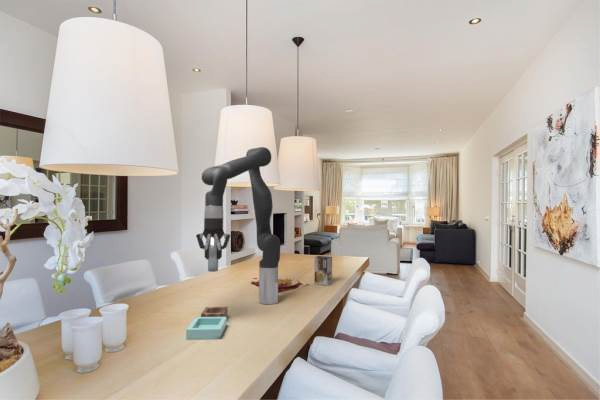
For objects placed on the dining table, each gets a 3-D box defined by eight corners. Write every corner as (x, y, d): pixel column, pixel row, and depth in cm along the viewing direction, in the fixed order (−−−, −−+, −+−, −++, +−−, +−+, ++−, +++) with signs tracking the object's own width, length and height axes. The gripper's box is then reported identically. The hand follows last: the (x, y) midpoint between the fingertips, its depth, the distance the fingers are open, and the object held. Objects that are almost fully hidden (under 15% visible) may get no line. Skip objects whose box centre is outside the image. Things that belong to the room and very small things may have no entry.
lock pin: (218, 269, 140) (219, 235, 140) (216, 271, 136) (217, 236, 136) (209, 269, 140) (209, 235, 140) (206, 271, 136) (207, 236, 136)
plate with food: (278, 294, 183) (279, 287, 183) (249, 284, 202) (250, 278, 202) (310, 287, 200) (310, 281, 200) (281, 278, 219) (281, 272, 219)
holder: (227, 316, 145) (227, 306, 145) (223, 323, 136) (223, 313, 136) (206, 316, 145) (206, 307, 145) (200, 324, 136) (201, 314, 136)
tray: (226, 325, 134) (226, 316, 134) (220, 339, 121) (220, 329, 121) (195, 326, 133) (195, 317, 133) (186, 339, 120) (186, 329, 120)
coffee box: (332, 283, 204) (332, 256, 204) (327, 285, 198) (327, 258, 198) (319, 281, 209) (319, 255, 209) (313, 283, 203) (314, 256, 203)
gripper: (232, 216, 142) (232, 257, 142) (198, 216, 142) (197, 257, 142) (229, 217, 135) (229, 260, 135) (193, 217, 134) (192, 260, 134)
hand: (213, 258), depth 138 cm, fingers closed on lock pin, 4 cm apart
